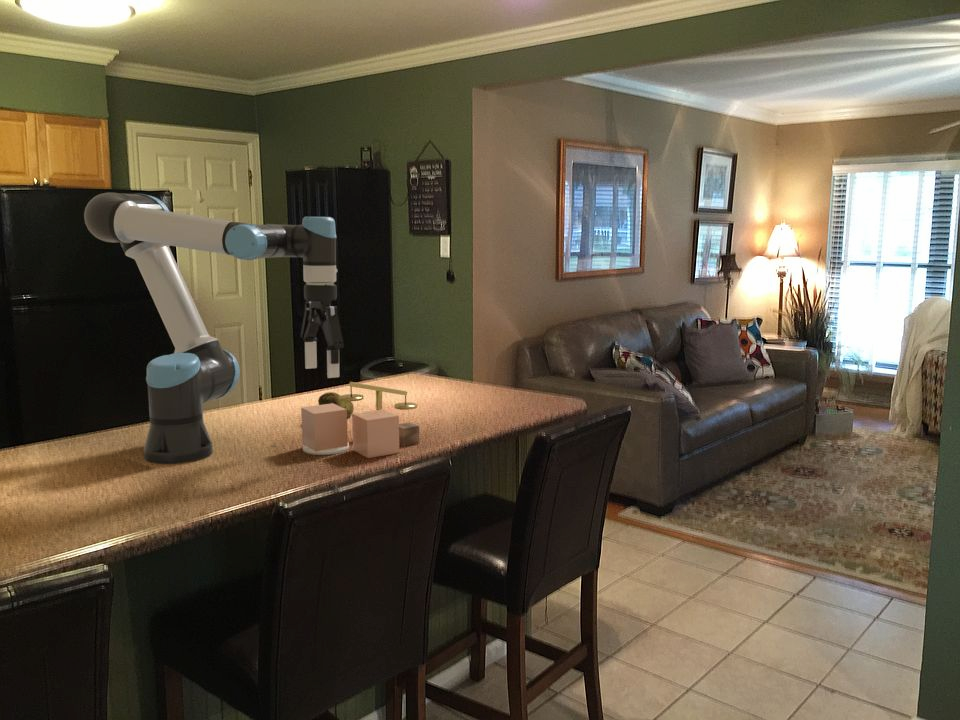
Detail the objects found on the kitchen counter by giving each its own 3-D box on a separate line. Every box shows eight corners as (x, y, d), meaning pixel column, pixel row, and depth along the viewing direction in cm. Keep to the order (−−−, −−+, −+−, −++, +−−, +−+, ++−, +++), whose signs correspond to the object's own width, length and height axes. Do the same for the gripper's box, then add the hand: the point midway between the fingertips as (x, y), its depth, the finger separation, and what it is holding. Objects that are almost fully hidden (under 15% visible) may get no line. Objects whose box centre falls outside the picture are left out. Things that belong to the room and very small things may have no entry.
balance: (346, 442, 200) (344, 385, 198) (336, 437, 205) (334, 381, 202) (421, 430, 212) (420, 376, 209) (410, 426, 217) (409, 373, 214)
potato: (365, 416, 228) (364, 389, 226) (329, 425, 218) (328, 396, 217) (346, 412, 233) (345, 385, 232) (310, 420, 223) (309, 392, 222)
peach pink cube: (315, 451, 189) (314, 413, 187) (302, 443, 196) (301, 407, 194) (347, 446, 193) (346, 409, 192) (333, 438, 200) (332, 403, 199)
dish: (313, 457, 187) (313, 453, 187) (295, 447, 196) (295, 443, 196) (356, 450, 193) (356, 446, 193) (337, 440, 202) (337, 436, 202)
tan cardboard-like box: (368, 458, 187) (367, 420, 185) (353, 450, 194) (352, 413, 192) (399, 452, 191) (398, 415, 190) (383, 445, 198) (382, 409, 196)
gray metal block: (403, 446, 197) (403, 428, 196) (394, 442, 201) (394, 424, 200) (419, 443, 200) (419, 425, 199) (410, 439, 203) (410, 422, 203)
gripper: (357, 286, 180) (358, 379, 184) (314, 279, 201) (316, 363, 204) (326, 287, 176) (328, 383, 180) (285, 280, 196) (288, 365, 200)
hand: (321, 372), depth 192 cm, fingers open, 13 cm apart
